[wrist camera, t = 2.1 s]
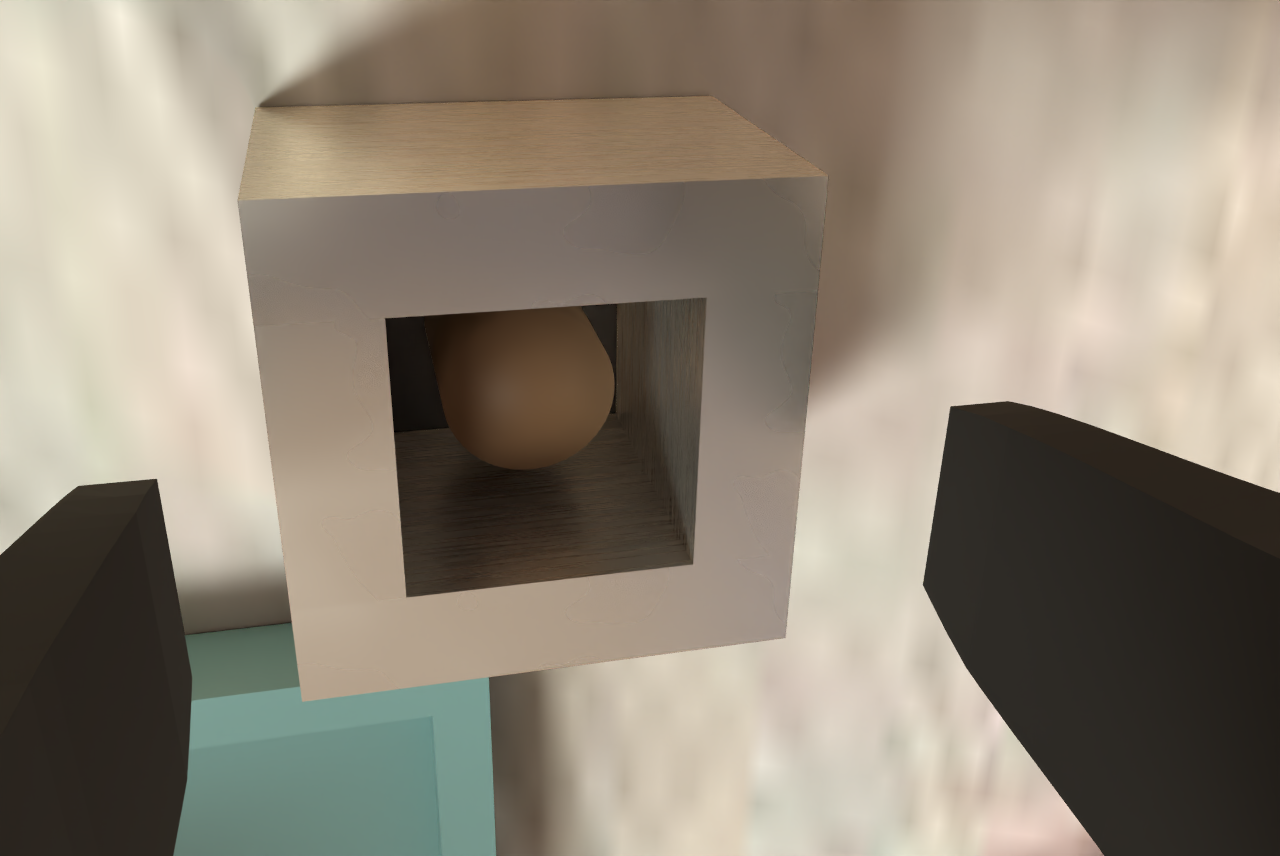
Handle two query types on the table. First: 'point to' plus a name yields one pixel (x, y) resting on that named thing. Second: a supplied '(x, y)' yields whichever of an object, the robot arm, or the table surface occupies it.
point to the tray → (329, 760)
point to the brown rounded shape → (521, 383)
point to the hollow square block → (513, 280)
